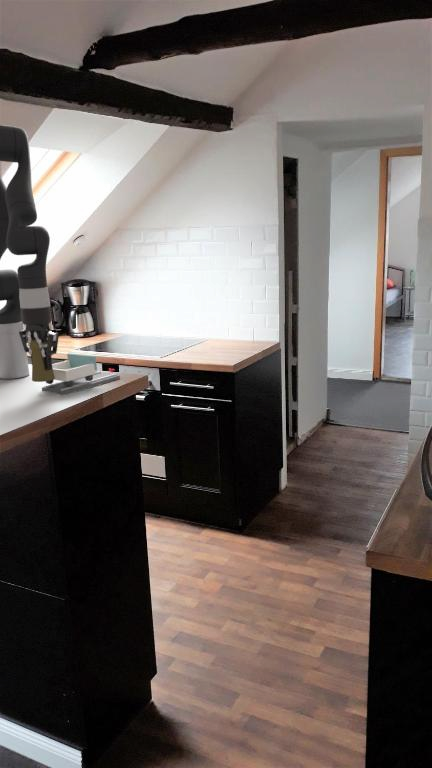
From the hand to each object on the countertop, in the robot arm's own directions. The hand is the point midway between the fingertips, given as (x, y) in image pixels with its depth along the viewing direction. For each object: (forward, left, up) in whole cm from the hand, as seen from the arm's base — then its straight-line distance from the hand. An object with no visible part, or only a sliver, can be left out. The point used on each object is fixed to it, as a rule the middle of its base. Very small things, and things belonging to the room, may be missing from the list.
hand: (42, 368), depth 161 cm
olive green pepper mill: (0, 0, -3) cm, 3 cm away
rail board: (-2, +15, -8) cm, 17 cm away
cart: (-2, +10, -6) cm, 12 cm away
